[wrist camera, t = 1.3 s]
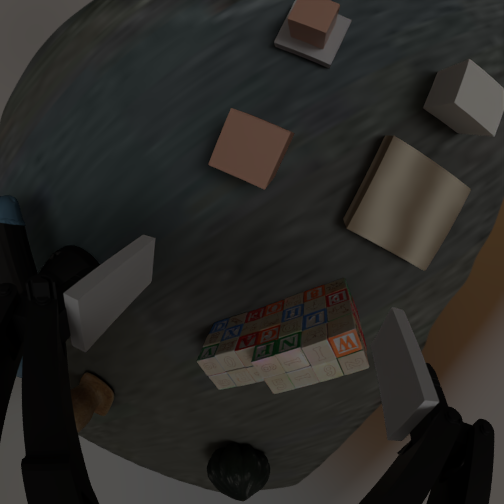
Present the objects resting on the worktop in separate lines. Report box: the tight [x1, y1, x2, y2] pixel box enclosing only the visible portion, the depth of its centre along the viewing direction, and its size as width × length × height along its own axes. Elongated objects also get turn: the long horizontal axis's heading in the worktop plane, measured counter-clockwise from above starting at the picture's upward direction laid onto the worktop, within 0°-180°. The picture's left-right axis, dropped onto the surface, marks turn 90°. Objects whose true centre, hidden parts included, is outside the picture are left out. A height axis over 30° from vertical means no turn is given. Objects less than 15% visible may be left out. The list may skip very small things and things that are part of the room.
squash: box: [207, 444, 270, 501], centre depth 55 cm, size 14×15×15 cm
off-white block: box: [423, 59, 504, 137], centre depth 24 cm, size 6×6×9 cm
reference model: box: [274, 0, 352, 68], centre depth 25 cm, size 7×7×8 cm
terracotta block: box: [208, 108, 295, 190], centre depth 31 cm, size 6×6×9 cm
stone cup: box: [70, 372, 114, 432], centre depth 55 cm, size 15×12×15 cm
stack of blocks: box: [197, 278, 369, 394], centre depth 38 cm, size 21×6×12 cm, turn 118°
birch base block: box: [343, 136, 471, 271], centre depth 32 cm, size 12×12×4 cm
